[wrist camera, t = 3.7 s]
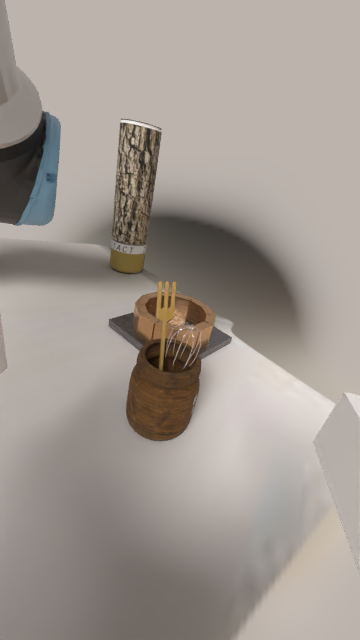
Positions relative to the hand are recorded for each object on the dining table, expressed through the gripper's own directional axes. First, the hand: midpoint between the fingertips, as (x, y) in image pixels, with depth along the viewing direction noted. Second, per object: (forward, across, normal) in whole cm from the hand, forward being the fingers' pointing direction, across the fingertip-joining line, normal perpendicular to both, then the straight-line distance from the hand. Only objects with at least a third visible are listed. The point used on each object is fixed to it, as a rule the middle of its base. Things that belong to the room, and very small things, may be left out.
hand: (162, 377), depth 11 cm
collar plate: (+24, -1, -12) cm, 27 cm away
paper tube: (+46, -14, -12) cm, 49 cm away
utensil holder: (+10, 0, -13) cm, 16 cm away
